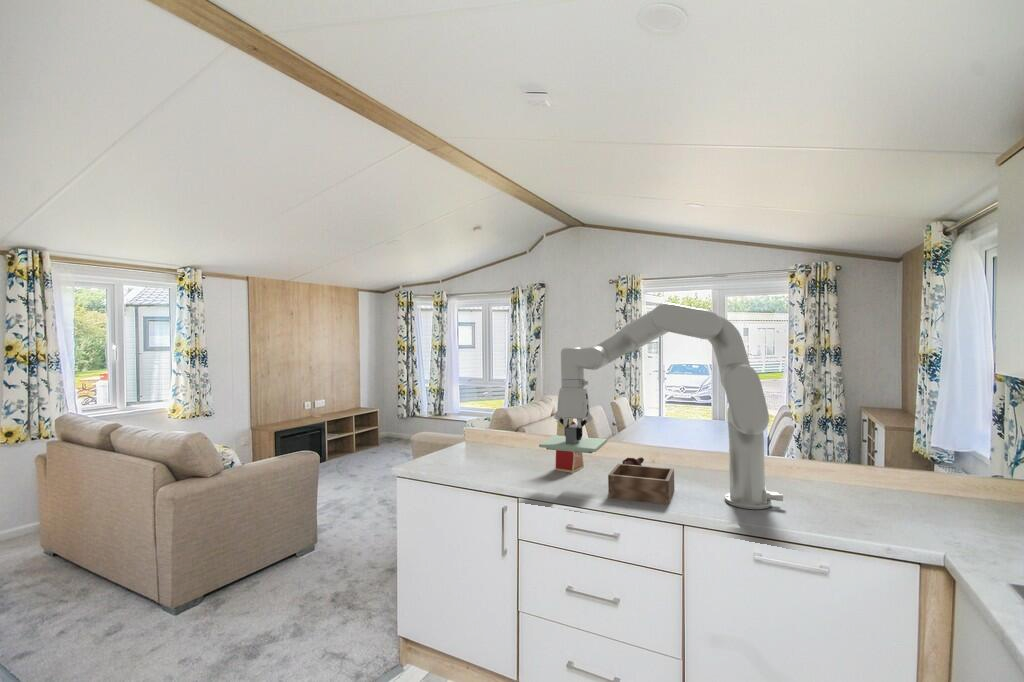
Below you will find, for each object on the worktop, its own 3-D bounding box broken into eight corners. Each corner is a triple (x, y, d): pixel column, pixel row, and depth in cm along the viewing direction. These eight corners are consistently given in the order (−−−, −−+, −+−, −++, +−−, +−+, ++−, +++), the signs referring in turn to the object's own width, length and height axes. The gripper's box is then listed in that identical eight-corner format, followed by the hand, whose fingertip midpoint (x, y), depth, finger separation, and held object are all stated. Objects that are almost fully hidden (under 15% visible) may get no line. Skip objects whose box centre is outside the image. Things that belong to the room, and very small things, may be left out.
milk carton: (583, 467, 187) (582, 416, 187) (573, 473, 179) (572, 420, 179) (562, 464, 192) (561, 414, 192) (552, 470, 184) (550, 418, 184)
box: (674, 493, 154) (674, 468, 154) (669, 508, 141) (668, 481, 141) (618, 487, 161) (618, 463, 161) (608, 500, 148) (608, 474, 148)
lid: (607, 444, 163) (606, 424, 163) (595, 455, 149) (595, 432, 149) (554, 440, 171) (554, 421, 171) (539, 450, 157) (538, 429, 157)
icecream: (632, 465, 165) (652, 459, 176) (614, 456, 170) (635, 452, 181) (627, 483, 166) (648, 477, 177) (609, 474, 171) (630, 469, 182)
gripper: (599, 383, 160) (600, 438, 160) (553, 382, 167) (554, 435, 167) (593, 386, 153) (594, 443, 153) (545, 384, 160) (546, 439, 160)
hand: (573, 438), depth 160 cm, fingers closed on lid, 3 cm apart
